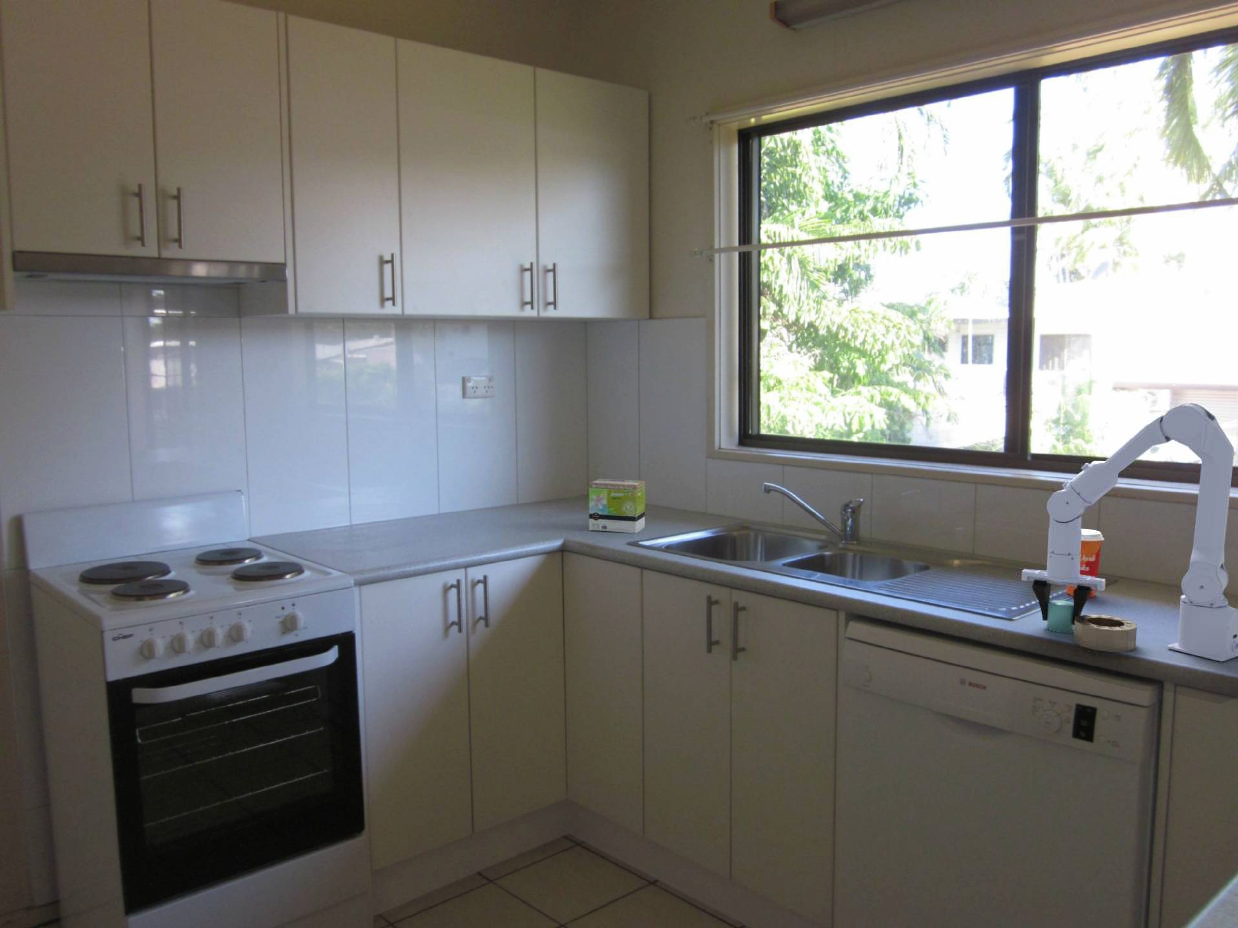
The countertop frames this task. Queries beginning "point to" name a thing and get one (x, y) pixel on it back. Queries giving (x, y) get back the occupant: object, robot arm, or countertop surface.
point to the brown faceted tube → (1105, 633)
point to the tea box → (617, 505)
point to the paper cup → (1089, 556)
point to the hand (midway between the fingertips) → (1060, 621)
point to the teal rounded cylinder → (1060, 616)
